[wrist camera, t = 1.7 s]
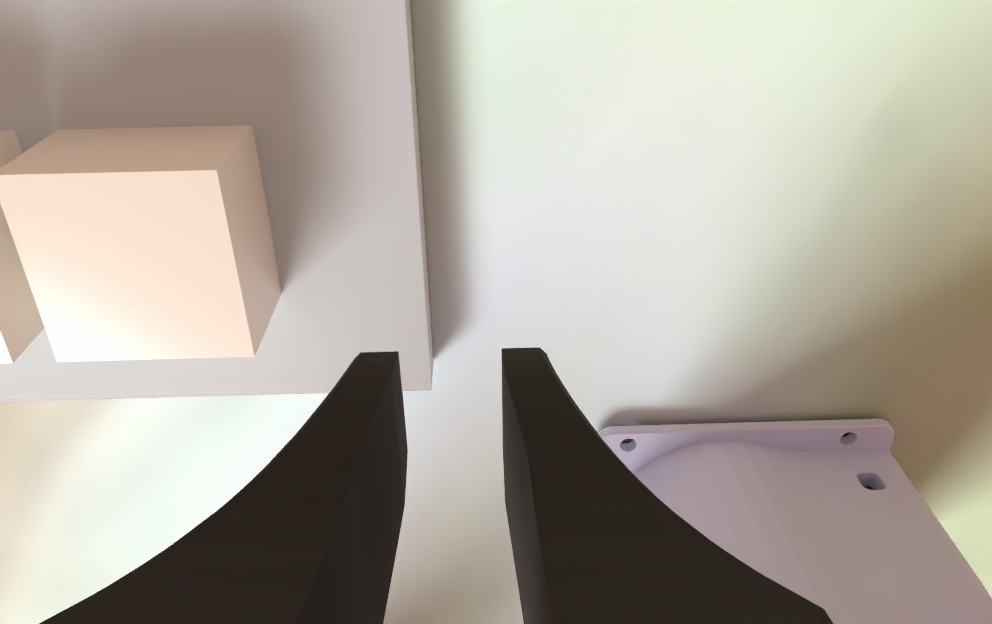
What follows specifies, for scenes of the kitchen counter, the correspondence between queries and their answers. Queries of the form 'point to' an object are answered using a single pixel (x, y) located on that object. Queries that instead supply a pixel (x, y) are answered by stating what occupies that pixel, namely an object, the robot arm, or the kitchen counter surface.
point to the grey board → (283, 164)
